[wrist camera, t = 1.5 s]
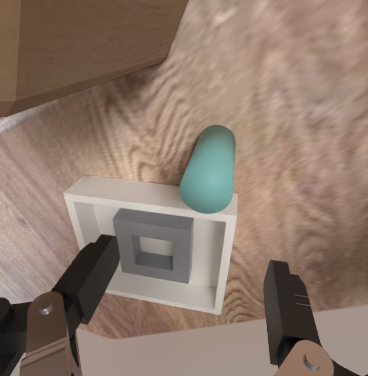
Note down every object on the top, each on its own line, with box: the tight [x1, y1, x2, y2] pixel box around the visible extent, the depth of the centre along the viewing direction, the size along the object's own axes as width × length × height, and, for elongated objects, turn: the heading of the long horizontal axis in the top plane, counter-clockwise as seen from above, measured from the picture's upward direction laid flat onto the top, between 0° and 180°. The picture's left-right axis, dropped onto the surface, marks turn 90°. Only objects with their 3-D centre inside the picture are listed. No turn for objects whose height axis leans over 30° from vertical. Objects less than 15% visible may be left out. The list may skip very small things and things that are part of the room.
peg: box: [179, 125, 236, 214], centre depth 23 cm, size 4×4×10 cm
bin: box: [63, 175, 238, 315], centre depth 34 cm, size 20×18×4 cm
